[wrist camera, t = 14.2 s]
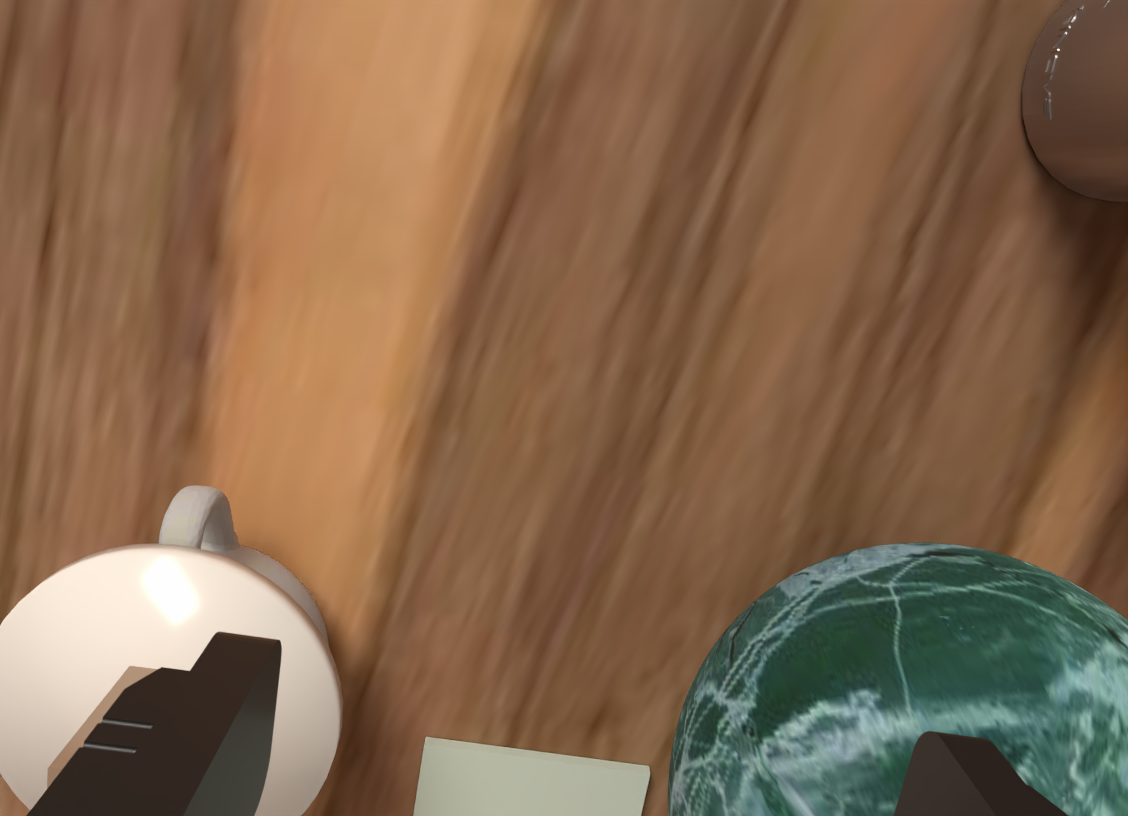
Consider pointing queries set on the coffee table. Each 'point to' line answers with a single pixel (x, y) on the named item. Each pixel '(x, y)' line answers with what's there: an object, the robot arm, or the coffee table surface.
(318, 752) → the lid
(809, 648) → the decorative sphere
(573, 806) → the mat
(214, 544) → the teacup
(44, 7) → the coffee table surface
